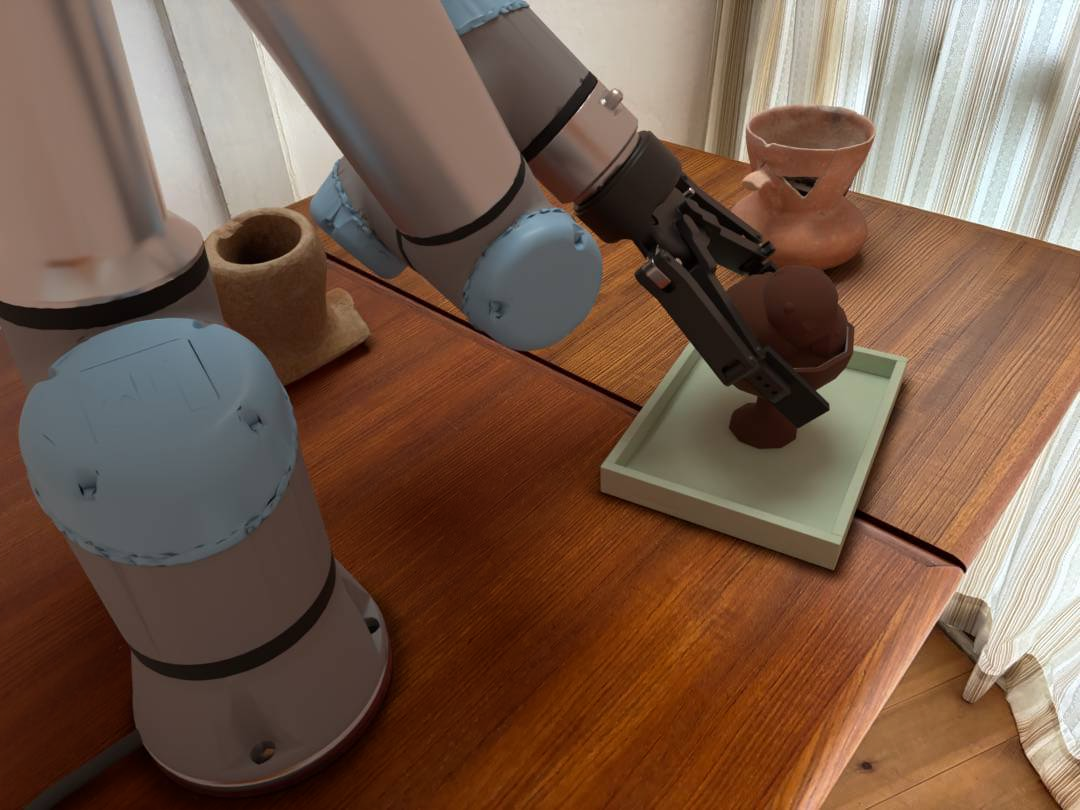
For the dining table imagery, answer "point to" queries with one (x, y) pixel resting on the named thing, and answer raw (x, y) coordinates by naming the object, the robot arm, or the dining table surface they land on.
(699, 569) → the dining table surface
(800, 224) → the ceramic jug
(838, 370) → the ice cream bowl
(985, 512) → the dining table surface
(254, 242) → the stone cup
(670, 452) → the serving tray
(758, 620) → the dining table surface
